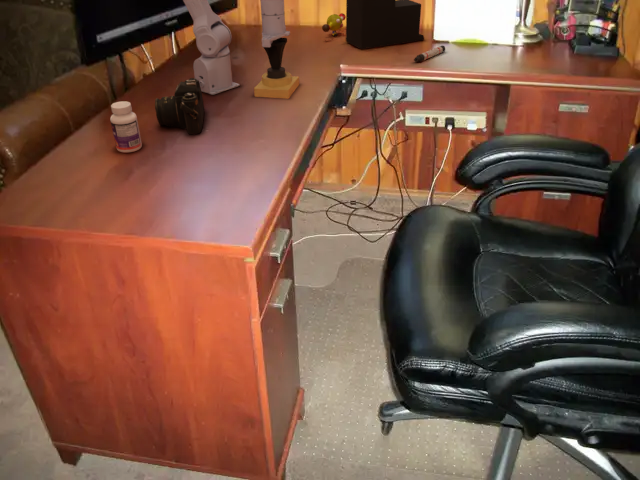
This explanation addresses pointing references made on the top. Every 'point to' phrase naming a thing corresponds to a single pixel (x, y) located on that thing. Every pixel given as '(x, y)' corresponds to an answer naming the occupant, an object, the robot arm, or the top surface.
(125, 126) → the pill bottle
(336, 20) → the toy figure
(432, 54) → the marker
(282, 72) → the button
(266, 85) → the plate
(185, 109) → the film camera
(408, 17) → the bookend
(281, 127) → the top surface
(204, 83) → the robot arm
